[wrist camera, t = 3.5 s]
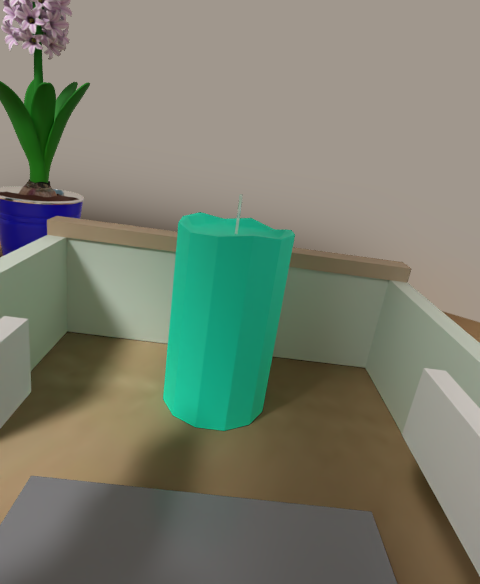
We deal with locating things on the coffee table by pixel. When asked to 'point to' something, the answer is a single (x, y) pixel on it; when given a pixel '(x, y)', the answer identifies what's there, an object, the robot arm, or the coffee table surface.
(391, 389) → the white u-shaped frame
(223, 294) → the candle
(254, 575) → the slate tile
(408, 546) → the coffee table surface
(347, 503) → the coffee table surface
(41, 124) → the hyacinth
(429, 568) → the coffee table surface
